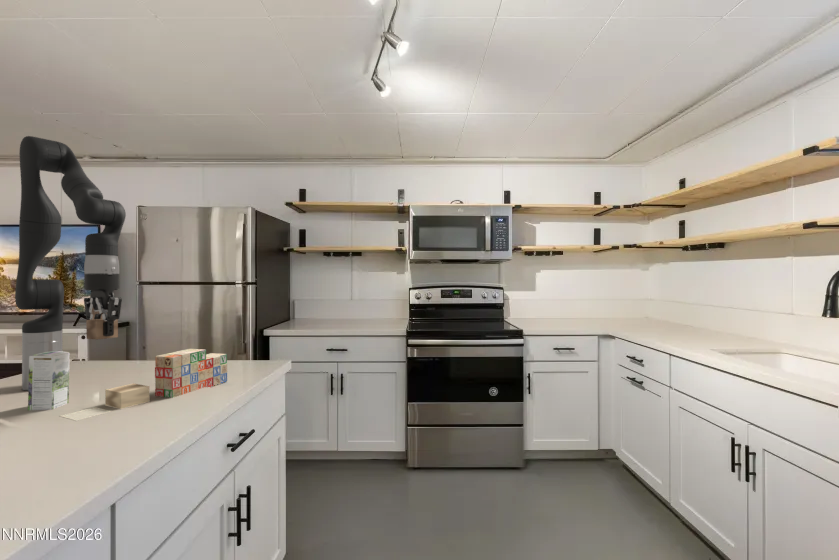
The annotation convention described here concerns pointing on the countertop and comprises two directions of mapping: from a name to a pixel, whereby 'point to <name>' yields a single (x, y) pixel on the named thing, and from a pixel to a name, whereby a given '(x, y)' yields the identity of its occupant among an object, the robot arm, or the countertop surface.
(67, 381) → the syrup box
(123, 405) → the maple block
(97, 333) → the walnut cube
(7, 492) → the countertop surface
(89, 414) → the pale flat slab
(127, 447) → the countertop surface
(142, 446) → the countertop surface
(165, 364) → the stack of blocks
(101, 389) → the countertop surface
